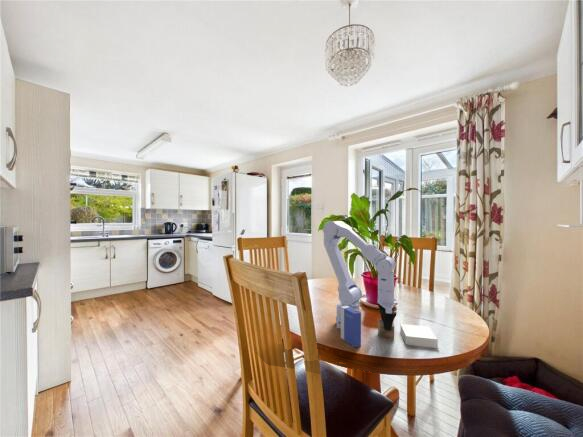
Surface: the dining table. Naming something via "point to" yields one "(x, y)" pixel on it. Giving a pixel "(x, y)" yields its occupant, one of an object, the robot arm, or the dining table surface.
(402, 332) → the base block
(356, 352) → the dining table surface
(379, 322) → the walnut cube
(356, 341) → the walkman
